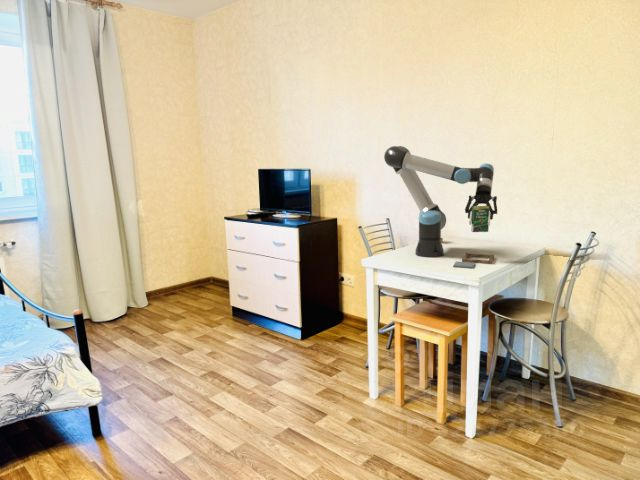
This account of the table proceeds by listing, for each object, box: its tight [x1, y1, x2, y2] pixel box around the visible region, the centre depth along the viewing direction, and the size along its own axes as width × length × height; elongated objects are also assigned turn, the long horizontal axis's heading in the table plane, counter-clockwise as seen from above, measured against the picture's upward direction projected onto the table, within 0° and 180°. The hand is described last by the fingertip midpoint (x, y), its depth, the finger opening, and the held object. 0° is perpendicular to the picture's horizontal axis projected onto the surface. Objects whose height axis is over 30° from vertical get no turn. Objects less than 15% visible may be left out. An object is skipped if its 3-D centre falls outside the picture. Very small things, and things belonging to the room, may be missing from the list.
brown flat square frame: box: [461, 252, 495, 265], centre depth 226 cm, size 14×15×2 cm
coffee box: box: [470, 205, 490, 233], centre depth 222 cm, size 8×3×13 cm, turn 90°
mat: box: [452, 261, 476, 269], centre depth 215 cm, size 9×9×1 cm
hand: (479, 223), depth 220 cm, fingers closed on coffee box, 8 cm apart
